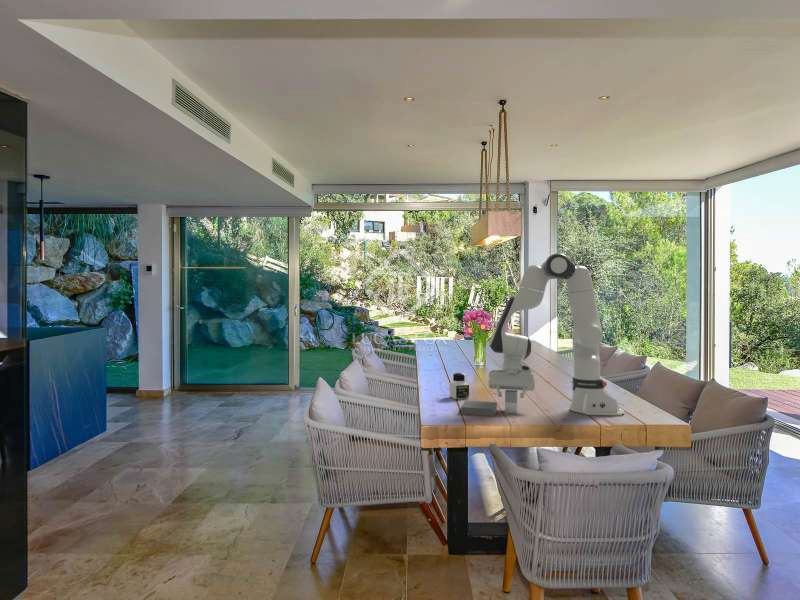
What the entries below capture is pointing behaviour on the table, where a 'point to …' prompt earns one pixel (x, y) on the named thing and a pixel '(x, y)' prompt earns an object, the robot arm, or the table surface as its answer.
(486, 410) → the charcoal stand
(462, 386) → the medicine bottle
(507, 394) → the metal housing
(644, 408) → the table surface
